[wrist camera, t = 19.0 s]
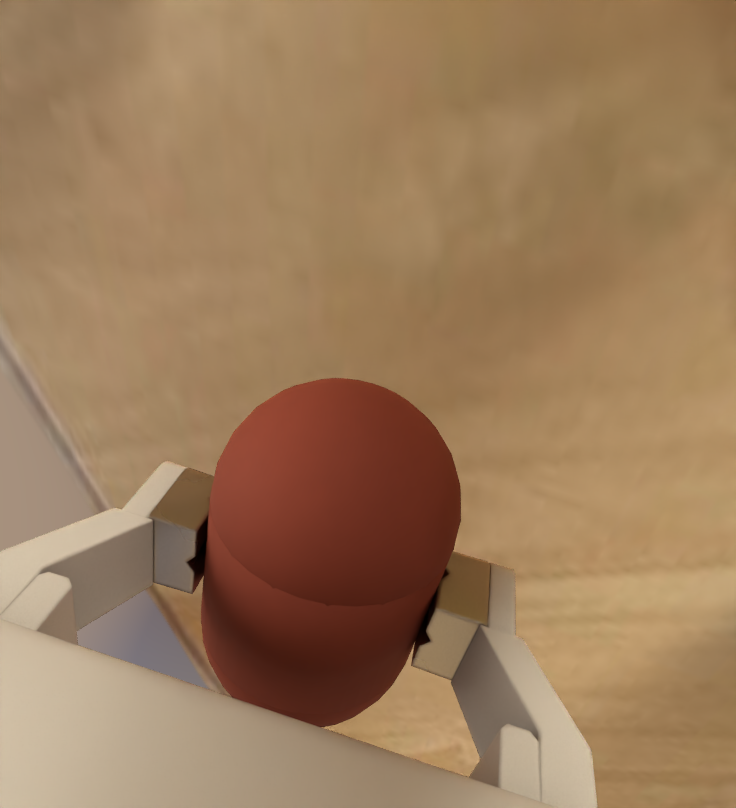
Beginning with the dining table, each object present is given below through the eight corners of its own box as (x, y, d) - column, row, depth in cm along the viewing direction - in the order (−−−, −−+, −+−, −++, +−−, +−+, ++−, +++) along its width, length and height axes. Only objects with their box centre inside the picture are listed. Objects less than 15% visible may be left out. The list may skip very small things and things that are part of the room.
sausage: (276, 310, 12) (161, 438, 8) (499, 375, 11) (491, 540, 8) (242, 566, 16) (157, 730, 12) (404, 619, 16) (368, 803, 12)
